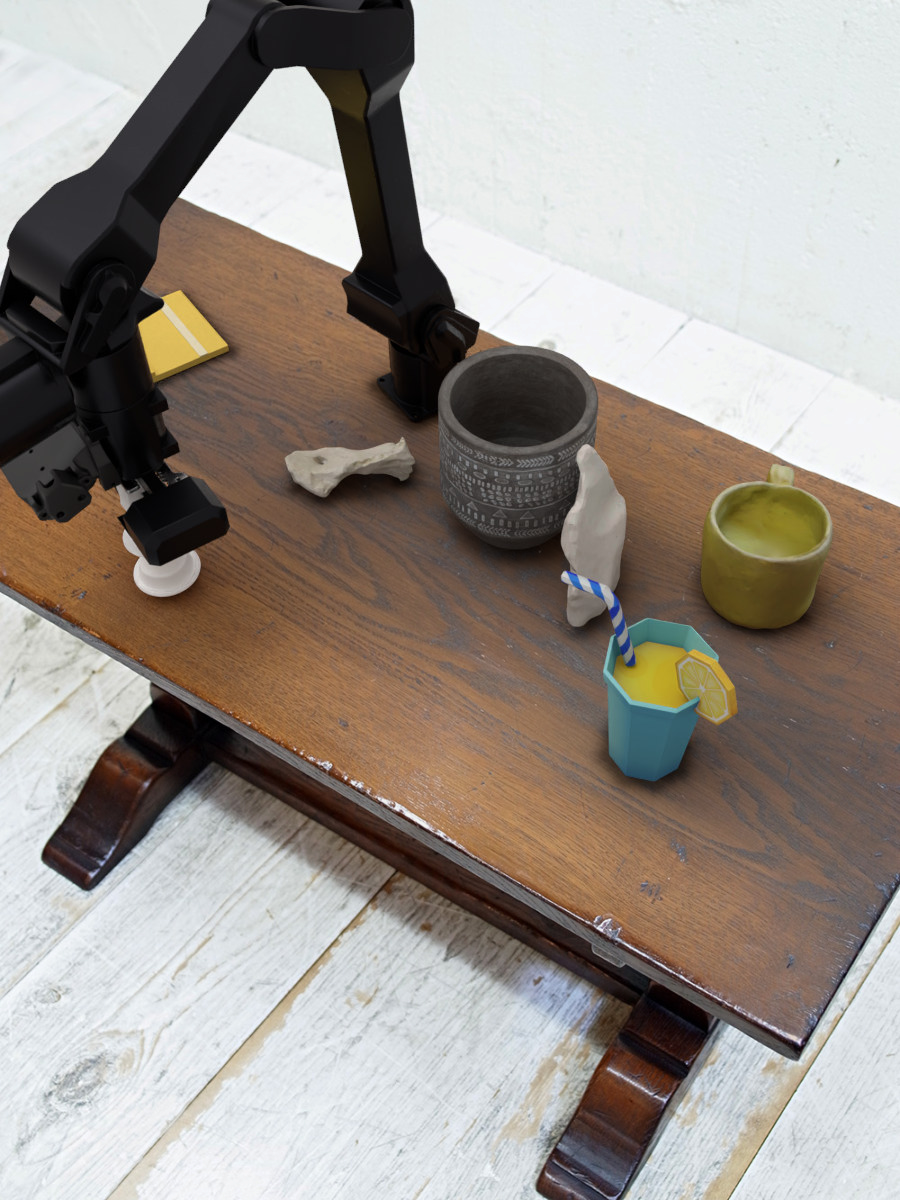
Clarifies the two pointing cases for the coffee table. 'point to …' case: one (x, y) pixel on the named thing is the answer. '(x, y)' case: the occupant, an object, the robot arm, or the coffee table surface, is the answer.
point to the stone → (593, 535)
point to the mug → (764, 551)
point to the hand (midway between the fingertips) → (155, 536)
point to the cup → (656, 688)
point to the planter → (514, 442)
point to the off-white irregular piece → (347, 465)
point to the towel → (178, 337)
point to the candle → (163, 577)
